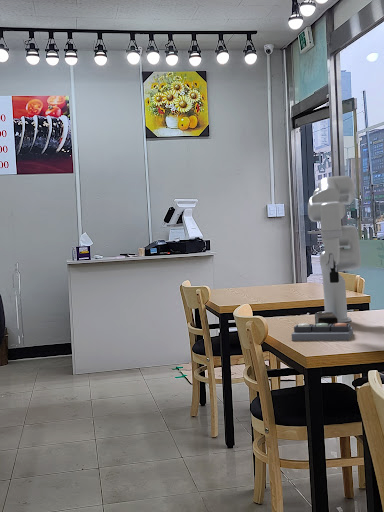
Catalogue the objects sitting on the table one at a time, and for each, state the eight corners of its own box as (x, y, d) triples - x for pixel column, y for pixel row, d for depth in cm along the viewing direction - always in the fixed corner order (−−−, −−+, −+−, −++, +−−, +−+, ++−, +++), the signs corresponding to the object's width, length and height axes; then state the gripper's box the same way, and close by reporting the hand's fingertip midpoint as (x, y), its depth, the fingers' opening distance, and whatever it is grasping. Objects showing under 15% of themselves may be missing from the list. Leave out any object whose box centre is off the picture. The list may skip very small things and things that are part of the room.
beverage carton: (334, 325, 268) (333, 310, 268) (339, 333, 249) (338, 316, 249) (315, 326, 269) (314, 311, 269) (318, 334, 250) (317, 317, 250)
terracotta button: (335, 328, 242) (335, 322, 242) (347, 328, 240) (347, 322, 240) (334, 330, 238) (333, 324, 238) (346, 329, 236) (345, 324, 236)
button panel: (298, 334, 252) (298, 322, 252) (352, 333, 244) (352, 322, 244) (291, 340, 239) (291, 328, 238) (348, 340, 231) (348, 328, 231)
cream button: (299, 328, 247) (299, 323, 247) (310, 328, 245) (310, 323, 245) (297, 330, 243) (296, 325, 242) (308, 330, 241) (308, 325, 241)
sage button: (317, 328, 244) (317, 323, 244) (328, 328, 243) (328, 323, 243) (315, 330, 240) (315, 325, 240) (327, 330, 239) (326, 324, 238)
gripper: (324, 234, 250) (327, 279, 252) (318, 237, 236) (321, 285, 238) (343, 233, 248) (346, 279, 249) (339, 235, 234) (342, 285, 235)
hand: (334, 282), depth 243 cm, fingers closed
